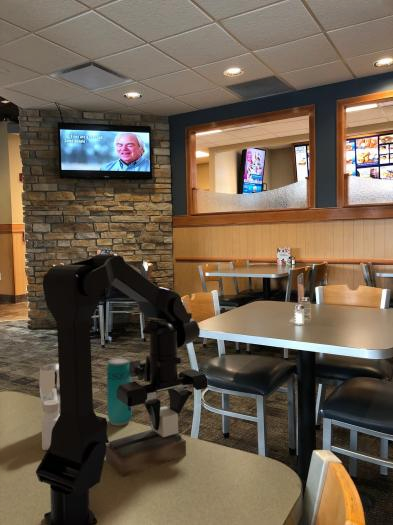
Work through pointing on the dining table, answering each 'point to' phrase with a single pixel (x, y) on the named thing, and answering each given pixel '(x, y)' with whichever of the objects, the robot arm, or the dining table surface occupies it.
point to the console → (143, 451)
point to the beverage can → (115, 377)
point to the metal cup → (49, 383)
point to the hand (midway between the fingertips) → (164, 427)
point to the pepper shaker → (49, 421)
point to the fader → (167, 422)
